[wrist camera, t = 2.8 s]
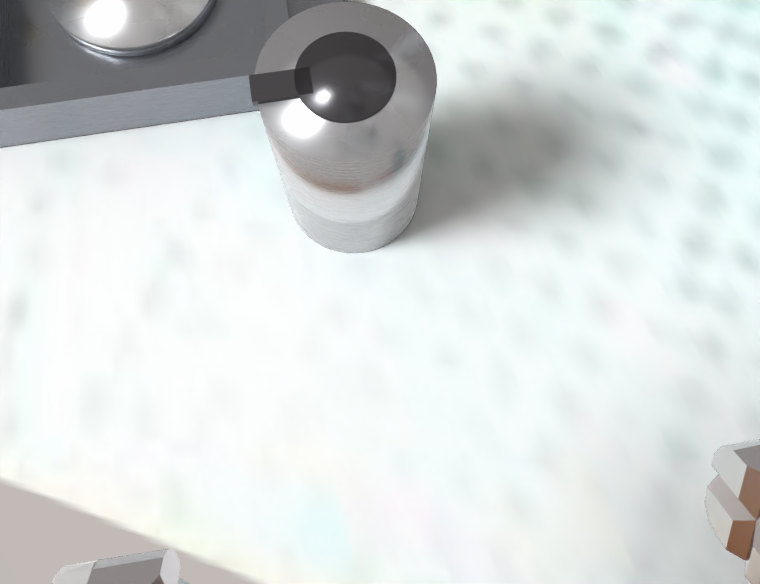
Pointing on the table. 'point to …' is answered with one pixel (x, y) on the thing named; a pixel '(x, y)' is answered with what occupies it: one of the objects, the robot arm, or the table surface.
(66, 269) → the table surface
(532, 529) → the table surface
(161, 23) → the shaft seat
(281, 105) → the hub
